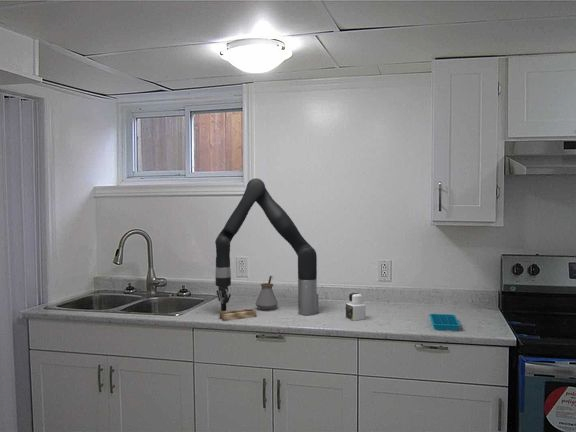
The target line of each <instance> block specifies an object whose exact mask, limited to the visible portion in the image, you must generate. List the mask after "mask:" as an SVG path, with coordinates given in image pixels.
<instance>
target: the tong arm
mask: <svg viewBox="0 0 576 432" xmlns="http://www.w3.org/2000/svg"><path fill="white" fill-rule="evenodd" d="M252 309H253V308H249V309H247V308H246V309H244V308H243V309H236V310H235V309H233V310H226V311H219V313H218V314H219V315H218V317H219V319H221V320H222V314H229V313H236V312H244V311H252Z"/></svg>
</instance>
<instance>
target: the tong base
mask: <svg viewBox="0 0 576 432" xmlns="http://www.w3.org/2000/svg"><path fill="white" fill-rule="evenodd" d="M251 309H252V311H244V312H236V313H229V314H222V319H221V320H222V321H223V322H226V321H233V320H243V319H249V318H256V317H257V308H251Z"/></svg>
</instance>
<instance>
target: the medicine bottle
mask: <svg viewBox="0 0 576 432" xmlns="http://www.w3.org/2000/svg"><path fill="white" fill-rule="evenodd" d="M348 296H349V300H348V301H349V302H346V303H345V318H346V319H348V320H350V321H354V322H357V321H364V320H365V321H366V319H367V318H366V314H367V313H366V312H367V310H366V309H367V307H366V304H365V303H363V295H362V293H359V292H353V293H350V294H349V295H348Z"/></svg>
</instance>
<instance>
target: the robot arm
mask: <svg viewBox="0 0 576 432" xmlns="http://www.w3.org/2000/svg"><path fill="white" fill-rule="evenodd" d="M255 203H257V205H258V206H259V207H260V208H261V209H262V211H263V213H264V215H265V216H266V218H267V219H268V220H269V222H270V224H271V225H272V227H273V229H275V231H276V232H277V233H278V234H279V235H280V237H282V238H283V239H284V241H286V242H288V244H289V246H291V247H292V250H294V252H295V254H296V255H297V278H298V279H297V304H298V305H297V307H298V308H297V314H298V315H301V316H312V315H317V314H319V294H318V290H317V287H318V284H317V283H318V281H317V279H318V278H317V276H318V275H317V274H318V270H317V269H318V268H317V267H318V264H317V263H318V259H317V252H316V249H315V248H314V247H312V245H311V244H310V243H309V242H308V241H307V240H306V239H305V238H304V236H303V235H302V234H301V232H300V231H299V229H298V227H297V226H296V224H295V223H294V221H293V219H292V218H291V217H290V216H289V214H288V213H287V212H286V211H285V210H284V208H282V206H280V204H279V203H277V202H276V201H275V200H274V199H273V197H272V196H271V194H270V193H269V191H268V189H267V188H266V184H265V182H264V181H263V180H262V179H261V178H252V179H250V180H249V181H248V182H247V184H246V188H245V190H244V193H243V195H242V197H241V199H240V201H239V202H238V204H237V205H236V207H235V209H234V210H233V212H232V213H231V215H230V216H229V218H228V219H227V221H226V223H225V225H224V227H223V228H222V230H221V231H220V232H219V234H218V235H217V236H216V238H215V242H214V243H215V255H216V256H215V270H214V271H215V277H214V278H215V286H216V287H218V289H217V290H216V295H217V298H218V299H217V300H218V302H219V303H220V312H224V311H227V304H228V303H229V301H230V299H231V295H232V294H231V293H229V287H230V286H231V285H232V277H231V276H232V272H231V270H232V269H231V258H230V257H231V256H230V255H231V242H232V240H233V238H234V237H235V235H237V234H238V232H239V231H240V229H241V227H242V226H243V224H244V222H245V220H246V219H247V216H248V214H249V212H250V210H251V209H252V207H253V206H254V204H255Z"/></svg>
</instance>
